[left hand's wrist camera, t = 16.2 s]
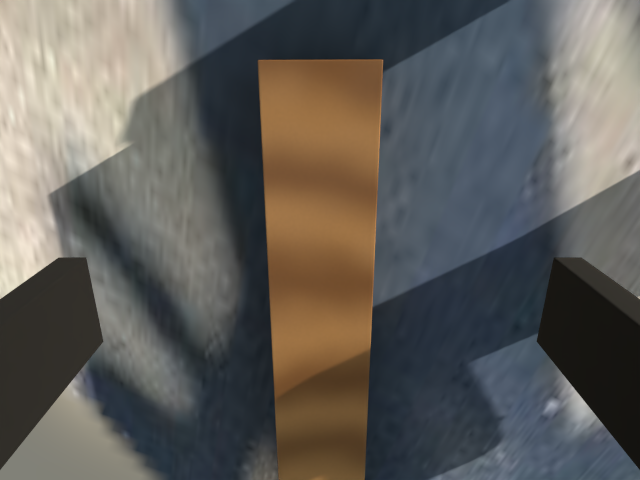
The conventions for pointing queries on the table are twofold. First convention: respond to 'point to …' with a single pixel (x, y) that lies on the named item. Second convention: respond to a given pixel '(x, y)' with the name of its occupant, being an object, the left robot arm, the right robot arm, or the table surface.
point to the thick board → (320, 256)
